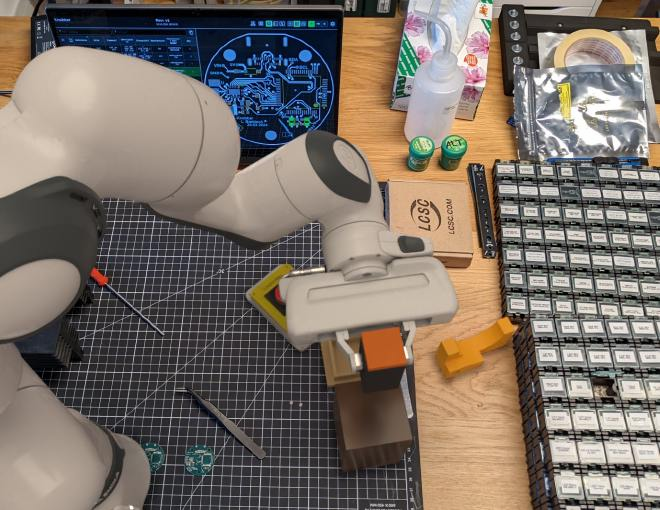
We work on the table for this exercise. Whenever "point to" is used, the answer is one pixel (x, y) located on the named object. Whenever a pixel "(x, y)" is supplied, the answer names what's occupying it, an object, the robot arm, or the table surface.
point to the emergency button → (273, 301)
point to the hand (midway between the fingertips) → (382, 367)
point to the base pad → (339, 362)
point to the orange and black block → (382, 359)
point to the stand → (370, 426)
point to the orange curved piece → (472, 348)
